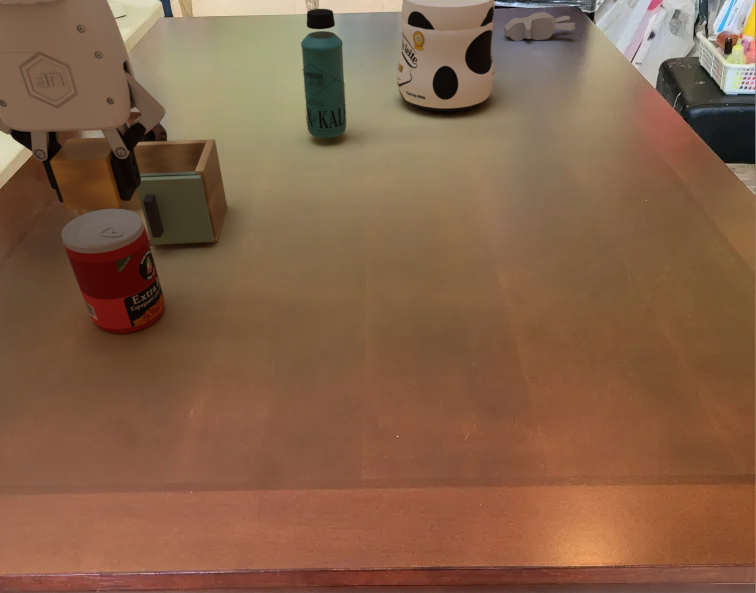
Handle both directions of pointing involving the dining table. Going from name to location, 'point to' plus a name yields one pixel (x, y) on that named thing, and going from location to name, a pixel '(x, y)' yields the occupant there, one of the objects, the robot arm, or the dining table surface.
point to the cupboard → (181, 162)
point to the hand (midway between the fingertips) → (99, 192)
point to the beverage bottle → (323, 77)
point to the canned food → (114, 269)
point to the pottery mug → (154, 134)
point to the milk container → (446, 53)
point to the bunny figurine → (536, 26)
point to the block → (86, 174)
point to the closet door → (175, 209)
